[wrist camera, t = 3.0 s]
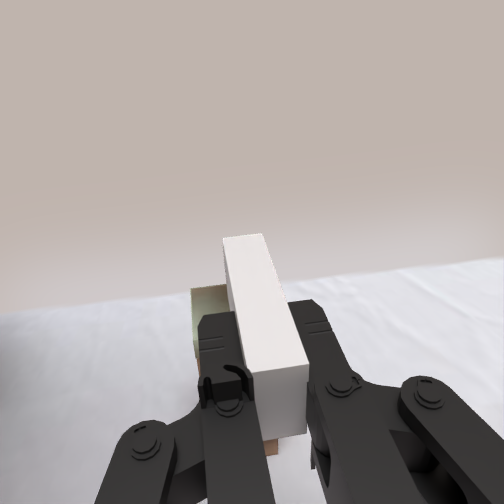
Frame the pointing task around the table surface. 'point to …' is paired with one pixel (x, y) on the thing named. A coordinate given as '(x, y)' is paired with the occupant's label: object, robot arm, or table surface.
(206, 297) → the walnut block
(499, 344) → the table surface
